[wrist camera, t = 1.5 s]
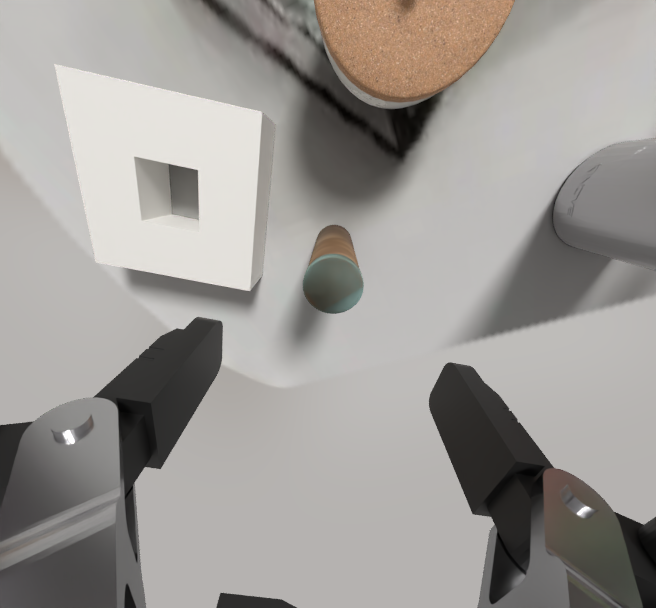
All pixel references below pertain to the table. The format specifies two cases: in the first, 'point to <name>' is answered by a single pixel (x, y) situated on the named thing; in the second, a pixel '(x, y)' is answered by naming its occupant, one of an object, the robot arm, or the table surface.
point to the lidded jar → (406, 44)
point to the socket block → (154, 180)
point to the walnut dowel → (333, 272)
